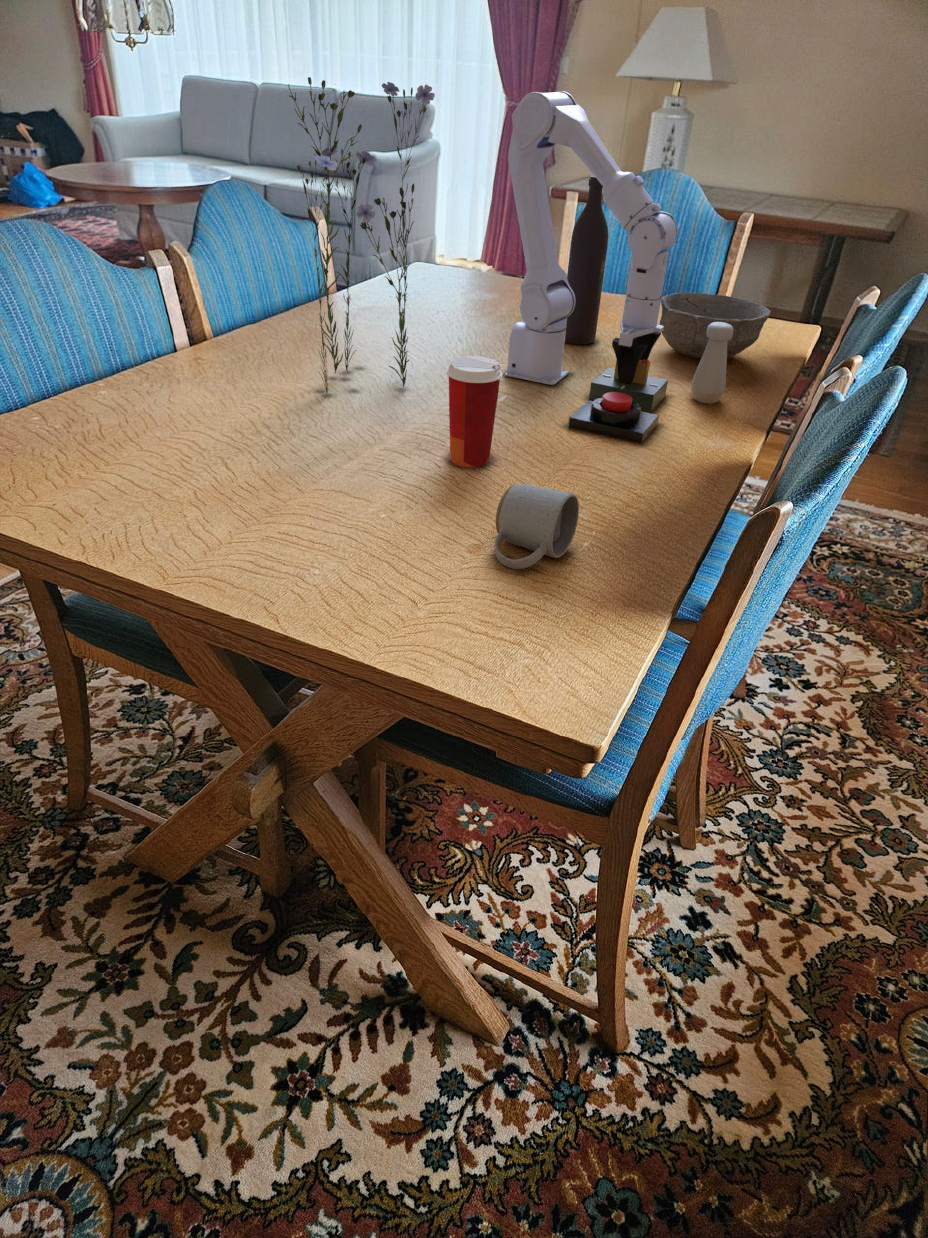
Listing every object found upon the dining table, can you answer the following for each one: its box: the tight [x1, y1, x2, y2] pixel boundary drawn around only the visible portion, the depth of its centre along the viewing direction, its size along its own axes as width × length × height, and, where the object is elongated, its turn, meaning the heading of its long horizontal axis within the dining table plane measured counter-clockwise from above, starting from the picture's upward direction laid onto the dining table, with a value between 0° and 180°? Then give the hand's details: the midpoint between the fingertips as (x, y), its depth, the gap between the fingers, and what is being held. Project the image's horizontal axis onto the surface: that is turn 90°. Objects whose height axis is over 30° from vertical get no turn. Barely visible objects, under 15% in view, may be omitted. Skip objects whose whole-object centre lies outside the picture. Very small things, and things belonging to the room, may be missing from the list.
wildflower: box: [287, 76, 436, 396], centre depth 136 cm, size 22×23×45 cm
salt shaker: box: [690, 322, 733, 405], centre depth 146 cm, size 6×6×13 cm
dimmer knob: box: [614, 359, 651, 385], centre depth 146 cm, size 6×1×4 cm, turn 64°
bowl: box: [658, 292, 771, 360], centre depth 168 cm, size 21×21×10 cm
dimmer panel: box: [588, 367, 669, 413], centre depth 148 cm, size 11×10×3 cm
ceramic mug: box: [493, 483, 580, 570], centre depth 101 cm, size 11×8×8 cm
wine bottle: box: [565, 175, 609, 346], centre depth 167 cm, size 7×7×30 cm
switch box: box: [568, 398, 660, 444], centre depth 137 cm, size 12×9×4 cm
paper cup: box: [445, 355, 504, 468], centre depth 120 cm, size 8×8×14 cm
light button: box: [602, 392, 632, 411], centre depth 135 cm, size 5×5×2 cm
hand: (630, 377), depth 147 cm, fingers open, 6 cm apart
